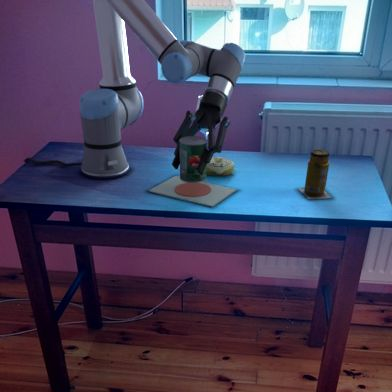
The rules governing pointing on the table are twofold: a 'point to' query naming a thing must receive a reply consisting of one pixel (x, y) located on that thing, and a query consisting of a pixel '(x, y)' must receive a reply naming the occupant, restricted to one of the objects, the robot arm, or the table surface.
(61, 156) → the table surface
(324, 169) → the condiment
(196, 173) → the canned tomato
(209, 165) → the decorated donut
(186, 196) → the placemat
